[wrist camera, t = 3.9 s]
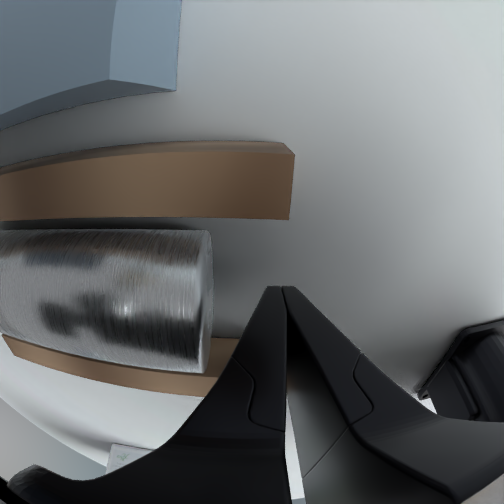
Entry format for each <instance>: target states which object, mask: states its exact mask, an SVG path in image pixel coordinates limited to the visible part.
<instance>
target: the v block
mask: <svg viewBox="0 0 504 504" xmlns="http://www.w3.org/2000/svg"><path fill="white" fill-rule="evenodd" d="M181 4H182V0H0V130H3V129H5V128H8V127H10V126H13V125H16V124H18V123H21V122H24V121H27V120H30V119H33V118H36V117H39V116H42V115H45V114H49V113H52V112H56V111H59V110H63V109H67V108H70V107H74V106H79V105H83V104H87V103H92V102H97V101H102V100H107V99H112V98H118V97H124V96H131V95H138V94H146V93H155V92H165V91H176V77H177V55H178V38H179V25H180V14H181Z"/></svg>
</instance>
